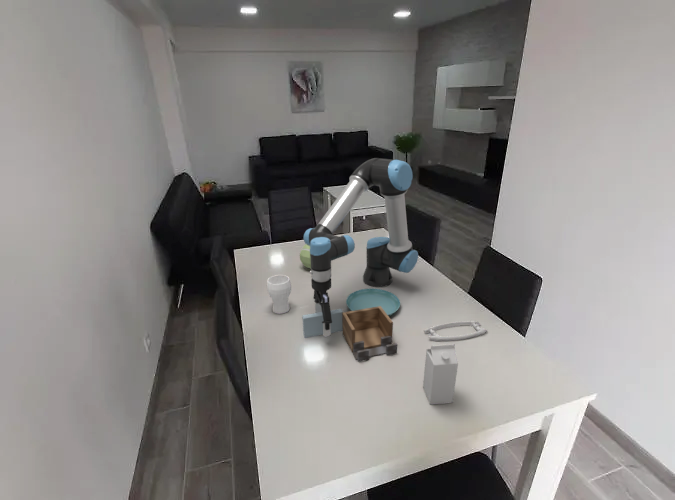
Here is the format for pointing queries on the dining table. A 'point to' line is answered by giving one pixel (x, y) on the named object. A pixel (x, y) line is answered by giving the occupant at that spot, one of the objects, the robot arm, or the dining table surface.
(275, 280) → the cup
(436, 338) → the door handle
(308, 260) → the decorative sphere
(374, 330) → the cabinet
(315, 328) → the door
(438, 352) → the milk carton
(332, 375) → the dining table surface
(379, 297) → the saucer
